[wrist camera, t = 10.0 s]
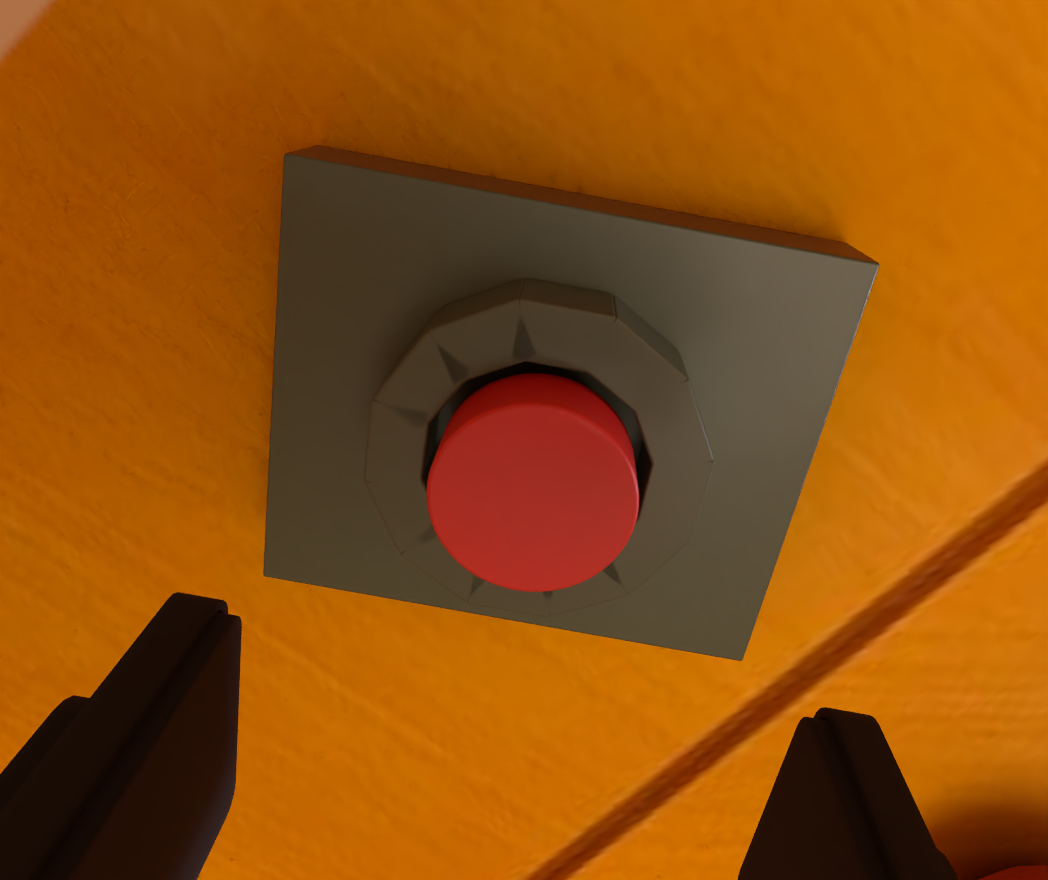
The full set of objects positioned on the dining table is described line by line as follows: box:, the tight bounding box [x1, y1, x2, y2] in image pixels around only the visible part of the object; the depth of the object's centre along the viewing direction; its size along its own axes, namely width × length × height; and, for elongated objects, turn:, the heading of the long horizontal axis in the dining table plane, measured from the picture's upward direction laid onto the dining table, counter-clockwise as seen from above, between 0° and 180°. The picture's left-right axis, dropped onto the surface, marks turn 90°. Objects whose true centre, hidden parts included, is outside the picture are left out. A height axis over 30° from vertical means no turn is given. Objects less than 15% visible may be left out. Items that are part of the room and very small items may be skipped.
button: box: [426, 373, 639, 592], centre depth 16 cm, size 4×4×2 cm
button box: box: [263, 145, 879, 661], centre depth 19 cm, size 12×10×4 cm
